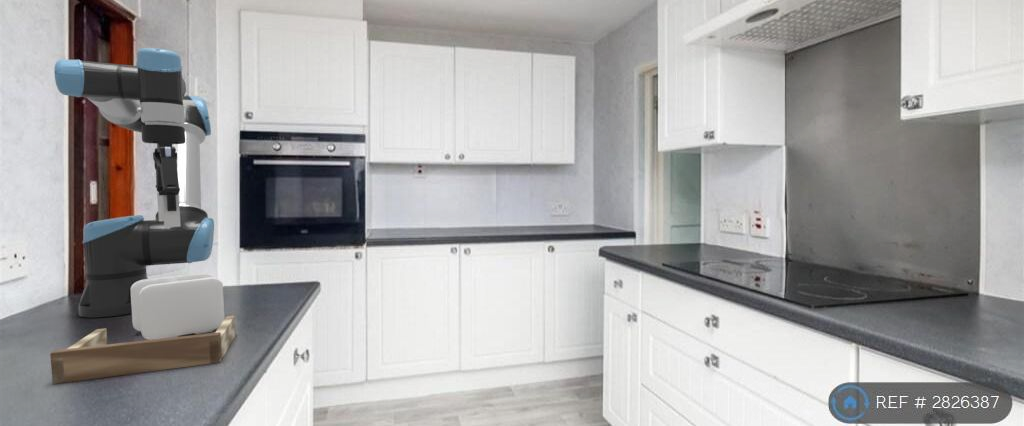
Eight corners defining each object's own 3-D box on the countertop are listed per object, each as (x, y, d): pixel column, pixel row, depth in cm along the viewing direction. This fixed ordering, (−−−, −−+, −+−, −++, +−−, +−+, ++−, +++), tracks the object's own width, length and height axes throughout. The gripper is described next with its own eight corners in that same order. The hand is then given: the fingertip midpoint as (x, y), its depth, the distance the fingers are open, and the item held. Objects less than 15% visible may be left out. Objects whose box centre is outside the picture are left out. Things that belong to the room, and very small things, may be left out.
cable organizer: (137, 346, 92) (133, 287, 91) (132, 333, 100) (129, 279, 99) (225, 330, 102) (222, 276, 101) (215, 319, 110) (212, 270, 109)
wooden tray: (97, 349, 90) (96, 324, 90) (235, 334, 99) (234, 311, 99) (52, 384, 75) (50, 353, 75) (220, 362, 84) (218, 334, 83)
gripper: (138, 127, 108) (144, 219, 110) (144, 119, 89) (151, 231, 91) (178, 129, 113) (183, 217, 115) (192, 122, 94) (197, 228, 96)
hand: (169, 223), depth 103 cm, fingers open, 13 cm apart
